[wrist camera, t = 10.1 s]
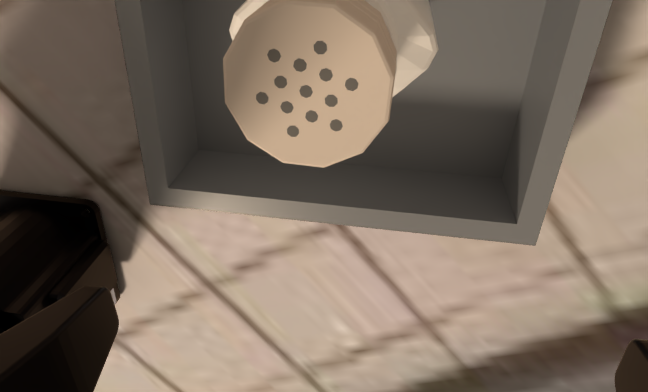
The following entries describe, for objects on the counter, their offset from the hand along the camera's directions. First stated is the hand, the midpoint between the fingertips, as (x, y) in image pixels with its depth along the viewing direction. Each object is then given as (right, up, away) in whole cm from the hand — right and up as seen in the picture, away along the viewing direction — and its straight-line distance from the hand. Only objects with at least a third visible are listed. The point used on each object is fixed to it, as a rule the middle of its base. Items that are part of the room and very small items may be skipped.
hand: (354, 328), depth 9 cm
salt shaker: (+1, +9, +9) cm, 13 cm away
